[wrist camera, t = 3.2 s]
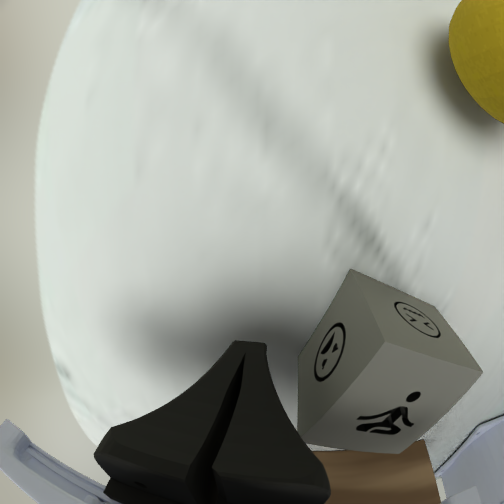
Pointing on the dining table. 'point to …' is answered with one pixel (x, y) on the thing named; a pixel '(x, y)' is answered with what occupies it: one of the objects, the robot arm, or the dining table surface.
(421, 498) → the brown wooden block
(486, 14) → the lemon
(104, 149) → the dining table surface
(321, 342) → the dice cube
